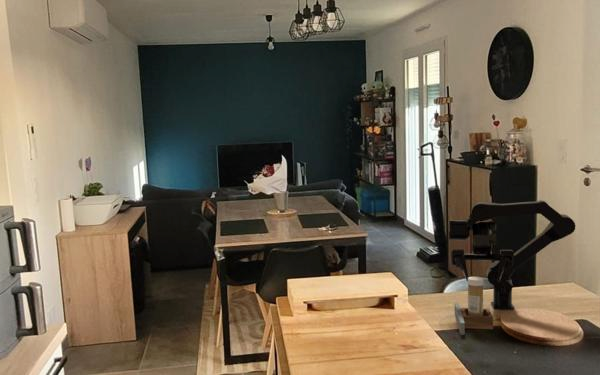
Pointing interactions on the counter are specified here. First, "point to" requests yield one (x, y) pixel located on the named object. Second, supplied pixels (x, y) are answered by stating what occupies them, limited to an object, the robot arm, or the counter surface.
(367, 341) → the counter surface
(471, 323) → the socket block
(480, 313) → the sprinkles bottle
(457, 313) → the backstop rail
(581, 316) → the counter surface
